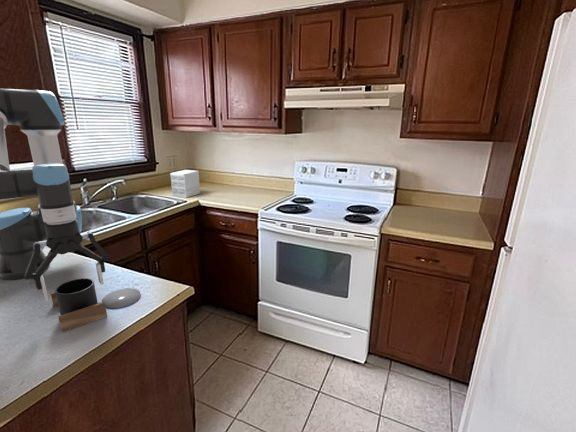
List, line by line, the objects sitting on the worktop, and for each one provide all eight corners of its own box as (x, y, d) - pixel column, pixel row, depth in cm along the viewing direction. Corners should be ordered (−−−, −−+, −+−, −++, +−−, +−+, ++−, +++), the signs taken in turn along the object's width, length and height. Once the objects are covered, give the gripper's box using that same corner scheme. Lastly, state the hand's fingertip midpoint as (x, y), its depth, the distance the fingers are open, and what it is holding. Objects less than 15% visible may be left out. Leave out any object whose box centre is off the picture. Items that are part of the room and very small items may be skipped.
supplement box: (186, 192, 252) (184, 169, 247) (200, 193, 247) (199, 170, 242) (171, 196, 236) (169, 172, 231) (186, 198, 232) (184, 173, 226)
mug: (92, 297, 102) (87, 272, 99) (102, 313, 94) (97, 286, 91) (57, 308, 96) (50, 282, 93) (64, 326, 87) (58, 298, 85)
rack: (53, 305, 97) (50, 292, 96) (93, 293, 104) (91, 281, 103) (62, 332, 85) (58, 318, 84) (107, 316, 92) (104, 302, 91)
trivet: (98, 297, 102) (98, 296, 102) (134, 286, 109) (134, 284, 109) (107, 312, 94) (107, 310, 94) (145, 299, 101) (145, 297, 101)
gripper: (0, 234, 76) (21, 311, 82) (114, 215, 92) (124, 280, 98) (0, 227, 81) (19, 300, 87) (107, 210, 97) (117, 272, 103)
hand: (75, 290), depth 92 cm, fingers open, 13 cm apart
